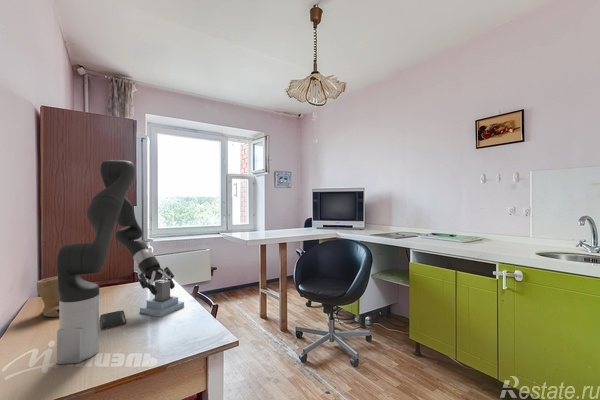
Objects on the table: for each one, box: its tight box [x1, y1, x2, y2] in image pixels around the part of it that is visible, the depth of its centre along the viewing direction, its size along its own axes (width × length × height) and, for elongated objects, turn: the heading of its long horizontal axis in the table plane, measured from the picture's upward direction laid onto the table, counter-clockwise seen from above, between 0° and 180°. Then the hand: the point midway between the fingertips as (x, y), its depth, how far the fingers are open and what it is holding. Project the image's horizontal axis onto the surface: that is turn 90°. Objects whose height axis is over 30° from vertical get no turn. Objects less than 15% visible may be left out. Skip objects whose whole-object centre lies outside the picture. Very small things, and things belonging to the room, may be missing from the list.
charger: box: [154, 280, 171, 302], centre depth 116 cm, size 4×4×10 cm
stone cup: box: [36, 275, 60, 318], centre depth 113 cm, size 15×12×15 cm
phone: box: [99, 310, 127, 331], centre depth 105 cm, size 8×1×15 cm
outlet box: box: [139, 295, 185, 318], centre depth 116 cm, size 12×12×4 cm
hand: (164, 290), depth 115 cm, fingers open, 8 cm apart
